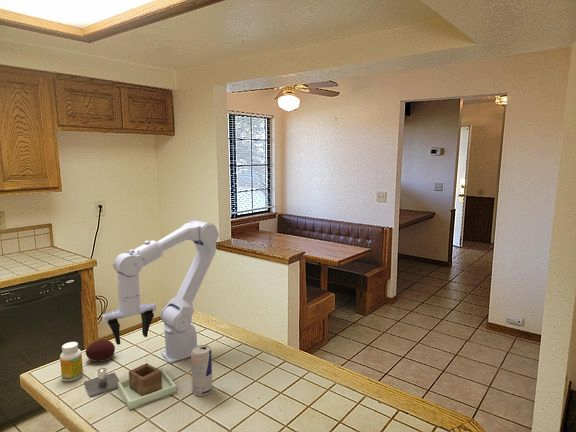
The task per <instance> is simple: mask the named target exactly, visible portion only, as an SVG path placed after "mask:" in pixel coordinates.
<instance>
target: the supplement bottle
mask: <svg viewBox="0 0 576 432" xmlns="http://www.w3.org/2000/svg"><path fill="white" fill-rule="evenodd" d="M61 351H62V352H61V353H60V356H59V361H60V362H59V363H60V372H61V380H62V381H63V382H72V381H76V380H78V379H80V378H81V377H82V376H83V375H84V369H83V356H82V350H81V349H80V348H79V343H78V342H77V341H70V342H66V343H64V344H63V345H62V346H61Z"/></svg>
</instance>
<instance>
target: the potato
mask: <svg viewBox="0 0 576 432" xmlns="http://www.w3.org/2000/svg"><path fill="white" fill-rule="evenodd" d="M115 351H116V346H115V344H114V343H113V342H112V341H111V340H107V339H98V340H95V341H93V342H92V343H90V344H89V345H87V347H86V348H85V351H84V353H85V355H86V357H87V359H89V360H90V361H93V362H103V361H107V360H109V359H110V358H112V356H113V355H114V354H115Z"/></svg>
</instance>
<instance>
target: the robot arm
mask: <svg viewBox="0 0 576 432" xmlns="http://www.w3.org/2000/svg"><path fill="white" fill-rule="evenodd" d="M219 236H220V233H219V231H218V229H217V226H216V225H215V224H214V223H211V222H205V221H200V220H198V219H193V220H191V221H189V222H186V223H184V224H183V226H180V228H178V229H176V230H174V231H173V232H171V233H169V234H168V235H165V236H164V237H163V238H161V239H159V240H157V241H156V240H145V241H144V242H143V244H142V245H140V246H138V247H136V248H134V249H133V248H131V249H129V250H128V252H126V253H125V252H123V253H120V254H118V255H117V256H116V258H115V259H114V262H113V263H112V267H113V269H114V270H115V271H116V276H117V292H118V295H117V296H118V298H117V299H118V309H115V310H112V311H110V312H107V313H103V314H102V315H101V316H102V322H103V324H107V325H108V326H109V328H110V330H111V331H112V334H113V336H114V339H115V340H114V341H115V344H116V345H121V337H120V330H121V329H120V328H121V324H120V323H119V319H121V320H122V319H123V318H124V319H125V318H128V317H132V316H136V315H140V316H141V317H140V318H141V329H142V331H141V332H142V336H143V337H144V338H147V337H148V333H149V329H150V326H151V323H152V322H153V320H154V317H155V313H154V312H156V311H157V305H156V303H154V302H153V303H146V304H145V303H144V304H141V295H140V275H139V274H140V273H141V270H142V268H144V267H145V266H147V265H150V264H151V263H153V262H154V261H155V262H156V260H158V259H160V258H161V257H162V256H163V254H164V253H163V252H165V251H166V250H167V251H168V249H171V248H173V247H175V246H176V245H178V244H181V243H182V242H185V241H191V242H192V243H193V244H194V246H195V249H196V251H197V252H196V254H195V256H194V258H193V261H192V262H191V265H190V266H189V269H188V270H187V273H186V275H185V277H184V279H183V281H182V283H181V285H180V287H179V290H178V292H177V293H176V296H174V297H172V298H171V299H169V301H168V303H167V304H166V305H165V306H164V307H162V310H161V312H160V320H161V322H162V323H164V347H165V349H164V350H163V351H161V355H162V356H163V357H164V358H165V359H166V361H167V362H168V363H171V364H172V363H175V362H178V361H181V360H185V359H188V358H191V351H192V348H194V347H195V346H198V334H197V330H196V327H195V325H193V324H192V321H193V319H192V318H193V315H194V312H195V309H194V306H193V302H194V300H195V297H196V295H197V293H198V291H199V289H200V287H201V285H202V283H203V280H204V278H205V277H206V273H207V272H208V270H209V267H210V266H211V263H212V262H213V259H214V257H215V255H216V252H217V241H218V238H219Z"/></svg>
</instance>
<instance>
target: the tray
mask: <svg viewBox="0 0 576 432" xmlns="http://www.w3.org/2000/svg"><path fill="white" fill-rule="evenodd" d="M157 369H158V370H160V371H161V372H162V389H160V390H159V391H156V392H153V393H151V394H148V395H145V396H141V395H139V394H138V393H136V392H135V391H133V390H132V389H130V383H129V378H126V379H123V380H121V381H120V380H119V381H120V382H118V388H117V390H118V391H119V393H120V395H121V397H122V398H123V401H124V402H125V404H126V406H127V408H128V410H129V411H130V410H133V409H136V408H138V407H142V406H144V405H147V404H150V403H152V402H155V401H157V400H160V399H162V398H163V399H164V398H165V397H169V396H171V395H173V394H176V393H178V392H177V390H178V389H177V388H178V387H177V385H176V383H175V382H174V381H173V380H172V378H171V377H170V375H168V373H167V372H166V371H165V370H164V369H163V367H160V368H157Z"/></svg>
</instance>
